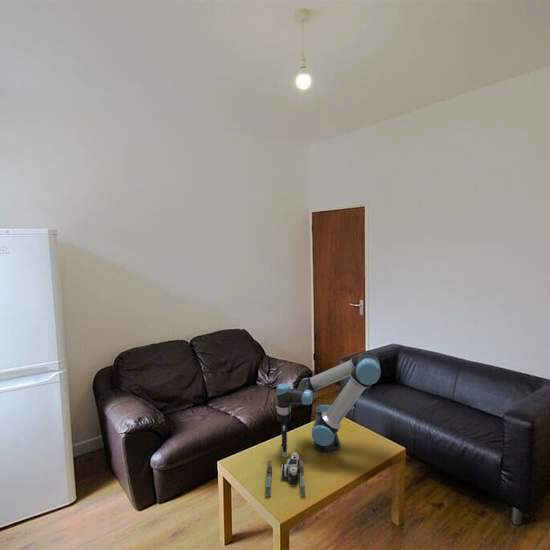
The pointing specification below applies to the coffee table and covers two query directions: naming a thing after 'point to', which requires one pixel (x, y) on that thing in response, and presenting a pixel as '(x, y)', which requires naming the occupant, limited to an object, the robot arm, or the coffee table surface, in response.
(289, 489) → the coffee table surface
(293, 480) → the camera
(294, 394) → the robot arm
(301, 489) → the rail
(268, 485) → the rail
